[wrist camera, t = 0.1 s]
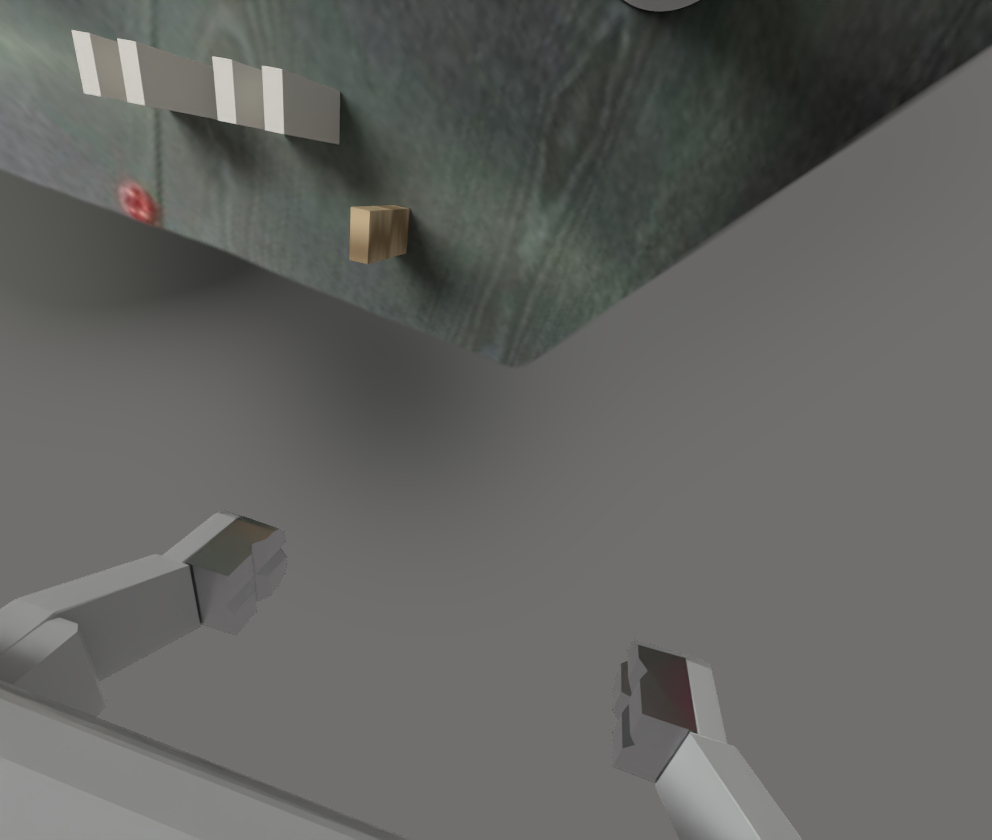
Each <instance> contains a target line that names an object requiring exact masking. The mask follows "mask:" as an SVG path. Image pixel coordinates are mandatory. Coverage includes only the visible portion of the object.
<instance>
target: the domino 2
mask: <svg viewBox="0 0 992 840" xmlns="http://www.w3.org/2000/svg"><path fill="white" fill-rule="evenodd" d="M117 41H118V47H119V53H120V59H121V65H122V72H123V78H124V84H125V90H126V96H127V102H130V103H135V104H140V105H145V106H150V107H155V108H160V109H165V110H171V111H176V112H181V113H186V114H191V115H196V116H201V117H206V118H212V119H217V120H218V116H217V105H216V93H215V82H214V71H213V67H212V66H209V65H206V64H203V63H200V62H197V61H193V60H190V59H187V58H184V57H181V56H178V55H175V54H172V53H169V52H166V51H163V50H160V49H157V48H153V47H150V46H147V45H144V44H141V43H138V42H135V41H129V40H124V39H118V38H117Z"/></svg>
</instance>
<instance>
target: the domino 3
mask: <svg viewBox="0 0 992 840" xmlns="http://www.w3.org/2000/svg"><path fill="white" fill-rule="evenodd" d="M212 59H213V71H214V82H215V93H216V105H217V116H218V121H223V122H228V123H233V124H238V125H243V126H248V127H253V128H258V129H264V130H265V120H264V100H263V79H262V70H259V69H256V68H254V67H251V66H248V65H245V64H242V63H240V62H237V61H234V60H231V59H225V58H220V57H215V56H212Z"/></svg>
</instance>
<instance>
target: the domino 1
mask: <svg viewBox="0 0 992 840" xmlns="http://www.w3.org/2000/svg"><path fill="white" fill-rule="evenodd" d="M72 35H73V40H74V45H75V50H76V55H77V60H78V65H79V70H80V75H81V80H82V85H83V90H84V93H86V94H91V95H95V96H100V97H105V98H111V99H116V100H121V101H126V102H127V96H126V90H125V84H124V78H123V72H122V65H121V59H120V53H119V47H118V42H116V41H113V40H110V39H106V38H103V37H100V36H97V35H94V34H90V33H86V32H80V31H75V30H72Z"/></svg>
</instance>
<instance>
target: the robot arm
mask: <svg viewBox="0 0 992 840" xmlns="http://www.w3.org/2000/svg"><path fill="white" fill-rule="evenodd" d="M624 1H626V2H627V3H629V4H631V5H633V6H635V7H637V8H640V9H644V10H649V11H671V10H676V9H680V8H683V7H686V6H689V5H691V4H693V3H695V2H697V1H699V0H624ZM285 543H286V538H285V531H283V530H281V529H278V528H276V527H273V526H270V525H267V524H264V523H261V522H258V521H255V520H253V519H250V518H247V517H244V516H240V515H237V514H234V513H231V512H228V511H225V510H224V511H220V512H218V513H216V514H214V515H213V516H211V517H210V518H209V519H208V520H206V521H205V522H204V523H203V524H201V525H200V526H199V527H198V528H196V529H195V530H194V531H193V532H191V533H190V534H189V535H187V536H186V537H185V538H184V539H182V540H181V541H180V542H179V543H178V544H176V545H175V546H173V547H172V548H171V549H170V550H169V551H167V552H166V553H165V554H163V555H162V556H161V555H158V554H154V555H151V556H148V557H145V558H142V559H138V560H136V561H132V562H129V563H126V564H123V565H120V566H117V567H114V568H110V569H108V570H104V571H101V572H98V573H95V574H92V575H89V576H86V577H82V578H80V579H76V580H74V581H70V582H67V583H64V584H61V585H58V586H54V587H52V588H49V589H45V590H42V591H39V592H36V593H33V594H29V595H26V596H23V597H20V598H17V599H15V600H14V601H12V602H10V603H9V604H7V605H6V606H4V607H3V608H1V609H0V840H412V839H409V838H407V837H403V836H401V835H399V834H396V833H393V832H391V831H389V830H386V829H383V828H381V827H378V826H376V825H373V824H371V823H368V822H365V821H363V820H360V819H358V818H355V817H353V816H350V815H347V814H345V813H342V812H340V811H337V810H335V809H332V808H329V807H327V806H324V805H322V804H319V803H317V802H314V801H311V800H309V799H306V798H304V797H301V796H299V795H296V794H293V793H291V792H288V791H286V790H283V789H281V788H278V787H275V786H273V785H270V784H268V783H265V782H262V781H260V780H257V779H255V778H252V777H250V776H247V775H245V774H242V773H239V772H237V771H234V770H231V769H229V768H226V767H224V766H221V765H219V764H216V763H213V762H211V761H209V760H206V759H203V758H201V757H198V756H196V755H193V754H190V753H188V752H185V751H183V750H180V749H178V748H175V747H172V746H170V745H167V744H165V743H162V742H160V741H157V740H154V739H152V738H149V737H147V736H144V735H142V734H139V733H136V732H134V731H131V730H129V729H126V728H123V727H121V726H118V725H116V724H113V723H111V722H108V721H105V720H103V719H100V718H98V717H97V716H98V715H99V714H100V713H101V711H102V710H104V709H105V707H106V697H105V695H104V692H103V689H102V687H101V684H100V681H101V680H103V679H105V678H107V677H109V676H110V675H112V674H114V673H116V672H118V671H120V670H122V669H123V668H125V667H127V666H129V665H131V664H133V663H134V662H136V661H138V660H140V659H142V658H144V657H146V656H148V655H149V654H151V653H153V652H155V651H157V650H159V649H161V648H162V647H164V646H166V645H168V644H170V643H172V642H174V641H175V640H177V639H179V638H181V637H183V636H185V635H187V634H188V633H190V632H192V631H194V630H196V629H198V628H199V627H201V626H200V624H201V625H204V626H207V627H210V628H214V629H217V630H220V631H223V632H227V633H230V634H233V635H237V634H238V633H239V631H241V629H242V628H243V627H244V626H245V625H246V624H247V622H248V621H249V620H250V619H251V618H252V616H254V614H255V613H256V612H257V603H258V601H260V600H262V599H265V598H267V597H269V596H271V595H272V593H273V592H274V591H275V590H276V589H277V587H278V586H279V584H280V582H281V580H282V578H283V576H284V575H285V571H286V566H287V556H286V555H285V553H284V552H283V550H282V549H281V547H282V546H283V545H284V544H285ZM612 710H613V712H614V714H615V716H616V717H617V719H618V722H617V724H616V726H615V728H614V730H613V732H612V748H613V750H612V751H613V752H612V753H613V754H612V755H613V756H612V758H613V767H614V768H617V769H620V770H622V771H625V772H627V773H630V774H632V775H635V776H638V777H641V778H643V779H646V780H648V781H651V782H654V783H656V784H655V787H656V789H657V791H658V794H659V796H660V798H661V800H662V802H663V805H664V807H665V809H666V811H667V813H668V816H669V818H670V820H671V822H672V824H673V826H674V829H675V831H676V833H677V835H678V837H679V839H680V840H802V839H801V837H800V836H799V834H798V833H797V832H796V830H795V829H794V828H793V826H792V825H791V824H790V822H789V821H788V819H787V818H786V816H785V815H784V814H783V812H782V811H781V809H780V808H779V807H778V805H777V804H776V803H775V801H774V800H773V798H772V797H771V795H770V794H769V793H768V791H767V790H766V789H765V787H764V786H763V784H762V783H761V782H760V780H759V779H758V777H757V776H756V775H755V773H754V772H753V770H752V769H751V768H750V766H749V765H748V763H747V762H746V761H745V759H744V758H743V757H742V755H741V754H740V752H739V751H738V749H737V748H736V747H734V746H732V745H729V744H728V743H727V739H726V734H725V729H724V725H723V720H722V716H721V711H720V706H719V702H718V697H717V692H716V688H715V683H714V678H713V674H712V669H711V666H710V665H709V663H708V662H707V661H703V660H700V659H697V658H694V657H690V656H687V655H683V654H681V653H678V652H675V651H672V650H668V649H665V648H662V647H658V646H655V645H652V644H648V643H645V642H642V641H638V640H634V641H632V642H631V644H630V646H629V649H628V661H626V662H624V663H622V664H621V665H620V667H619V670H618V672H617V675H616V679H615V683H614V688H613V701H612Z"/></svg>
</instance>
